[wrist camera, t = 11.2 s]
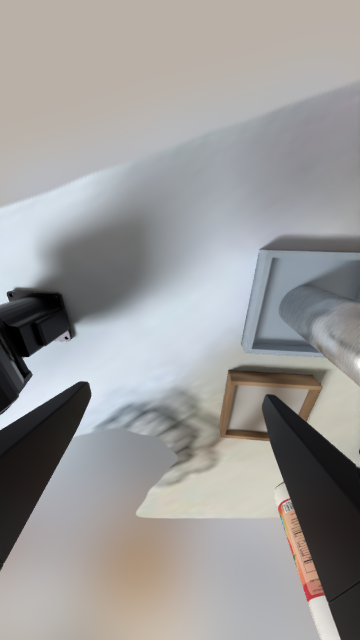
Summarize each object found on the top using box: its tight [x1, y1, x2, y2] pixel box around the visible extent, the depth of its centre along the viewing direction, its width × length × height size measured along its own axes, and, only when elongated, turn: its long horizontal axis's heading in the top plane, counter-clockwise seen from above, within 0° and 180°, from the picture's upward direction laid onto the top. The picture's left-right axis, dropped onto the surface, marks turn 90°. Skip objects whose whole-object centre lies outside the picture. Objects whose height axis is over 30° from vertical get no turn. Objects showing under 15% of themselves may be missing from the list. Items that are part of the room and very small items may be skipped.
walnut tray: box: [219, 370, 322, 441], centre depth 25 cm, size 11×11×2 cm
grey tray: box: [241, 250, 360, 358], centre depth 19 cm, size 11×11×2 cm
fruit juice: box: [274, 483, 341, 640], centre depth 22 cm, size 9×9×28 cm
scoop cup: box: [279, 285, 360, 386], centre depth 14 cm, size 5×5×12 cm
